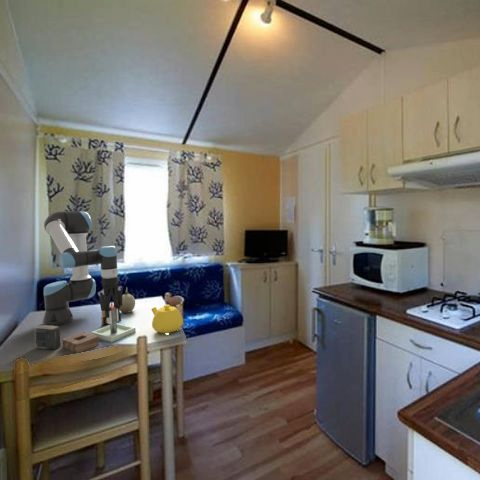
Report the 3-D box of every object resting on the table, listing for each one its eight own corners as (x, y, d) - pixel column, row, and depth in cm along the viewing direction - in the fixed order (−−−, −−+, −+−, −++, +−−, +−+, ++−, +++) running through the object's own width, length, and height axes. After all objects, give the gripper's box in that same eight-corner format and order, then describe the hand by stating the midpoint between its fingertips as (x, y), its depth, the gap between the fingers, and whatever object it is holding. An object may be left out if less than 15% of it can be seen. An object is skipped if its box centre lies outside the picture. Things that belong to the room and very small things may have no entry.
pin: (109, 332, 147) (107, 307, 146) (114, 330, 149) (112, 305, 148) (113, 333, 145) (111, 308, 144) (118, 331, 148) (116, 306, 147)
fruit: (126, 316, 175) (124, 292, 174) (114, 313, 181) (112, 290, 180) (140, 311, 184) (138, 288, 183) (128, 308, 190) (127, 286, 189)
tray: (91, 336, 145) (91, 331, 145) (115, 327, 157) (115, 322, 157) (111, 342, 137) (111, 337, 137) (135, 332, 149) (135, 327, 149)
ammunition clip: (103, 326, 159) (101, 305, 158) (101, 325, 160) (100, 304, 159) (121, 320, 168) (119, 300, 167) (119, 320, 169) (118, 300, 168)
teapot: (141, 331, 150) (139, 305, 149) (165, 322, 163) (164, 298, 162) (165, 339, 138) (164, 312, 137) (189, 329, 151) (188, 303, 150)
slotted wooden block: (63, 347, 133) (62, 339, 133) (83, 339, 142) (83, 331, 142) (77, 353, 127) (77, 344, 127) (98, 344, 136) (98, 336, 136)
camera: (63, 345, 136) (61, 325, 135) (52, 351, 130) (50, 330, 129) (44, 344, 139) (42, 323, 138) (32, 349, 133) (30, 328, 132)
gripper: (99, 280, 136) (103, 328, 138) (128, 274, 150) (131, 318, 152) (90, 279, 140) (93, 326, 142) (119, 273, 154) (121, 316, 156)
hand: (113, 322), depth 147 cm, fingers closed on pin, 3 cm apart
